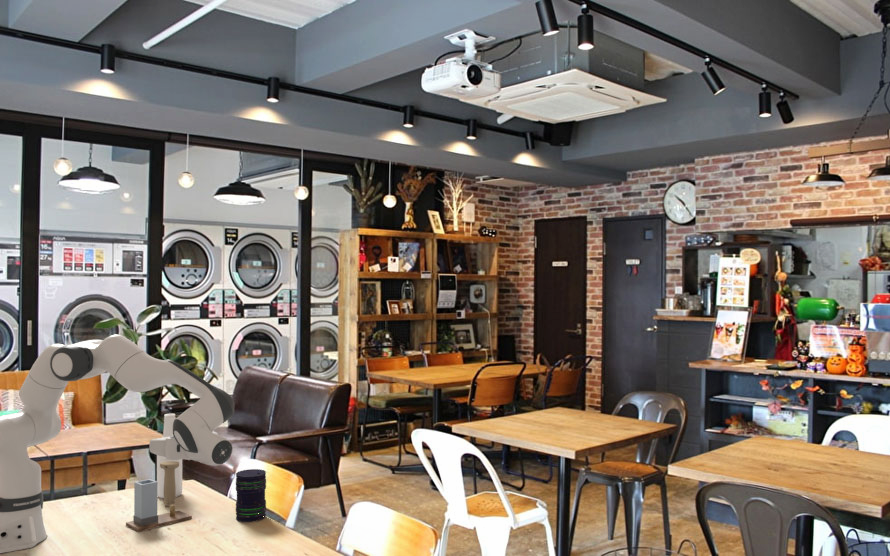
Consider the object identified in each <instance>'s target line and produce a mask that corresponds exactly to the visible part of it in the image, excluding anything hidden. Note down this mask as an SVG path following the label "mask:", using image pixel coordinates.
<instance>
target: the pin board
mask: <svg viewBox="0 0 890 556" xmlns="http://www.w3.org/2000/svg"><path fill="white" fill-rule="evenodd" d="M157 515H158V522H156V523H152V524H148V525H144V526H141V525H138V524H136V523H134V522H133V520H131V521H127V522H126V521H125V526H126V527H127V528H130V529H132V530H134V531H135V532H138V533H140V532H143V531H147V530H152V529H157V528H160V527H164V526H168V525H171V524H172V525H173V524H176V523H180V522H183V521H188V520H191V519H193V518H192V517H193V516H192V515H191V514H189V513H186V512H184V511H181V510H179V509H177V510H176V504H174V505H170V506H169V512H165V513H160V514H157Z"/></svg>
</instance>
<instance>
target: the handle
mask: <svg viewBox="0 0 890 556" xmlns="http://www.w3.org/2000/svg"><path fill="white" fill-rule="evenodd" d="M178 466H179V462H176V461H168V462H162V463H160V467H161V468H163V469H164V471H165V475H164V499H163V500H164V507H167V508H168V507H169V508H170V505H176V504H175V503H176V497H175V494H176V491H175V490H176V489H175V488H176V487H175V469H176V468H177V467H178Z"/></svg>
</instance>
